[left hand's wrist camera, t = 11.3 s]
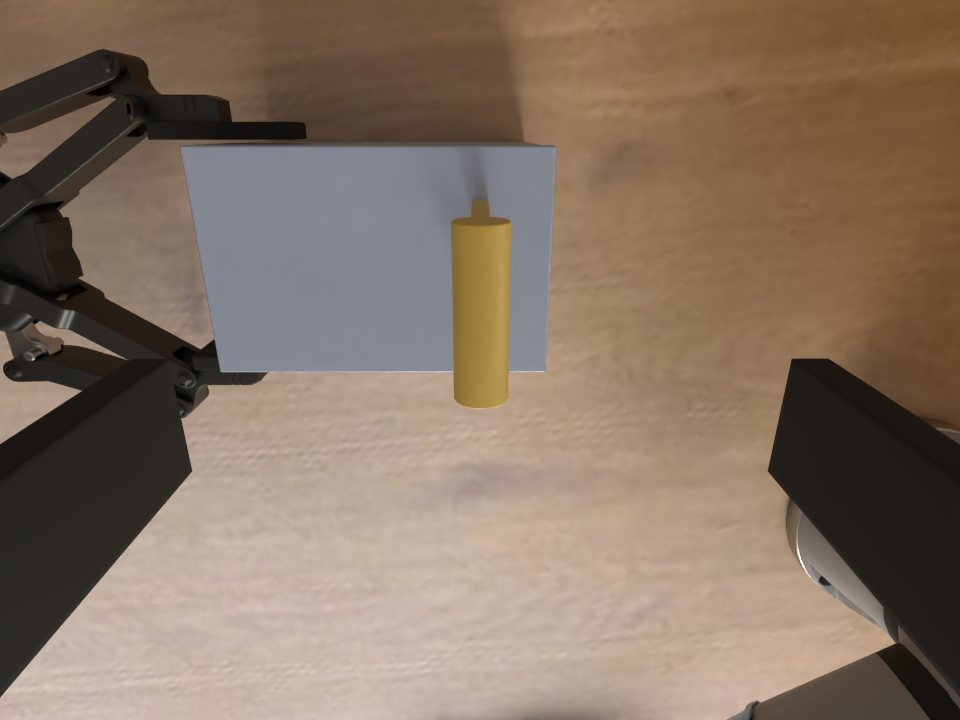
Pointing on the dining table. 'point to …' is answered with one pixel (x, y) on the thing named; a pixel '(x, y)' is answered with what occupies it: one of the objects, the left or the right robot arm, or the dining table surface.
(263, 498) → the dining table surface
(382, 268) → the lid
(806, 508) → the left robot arm
